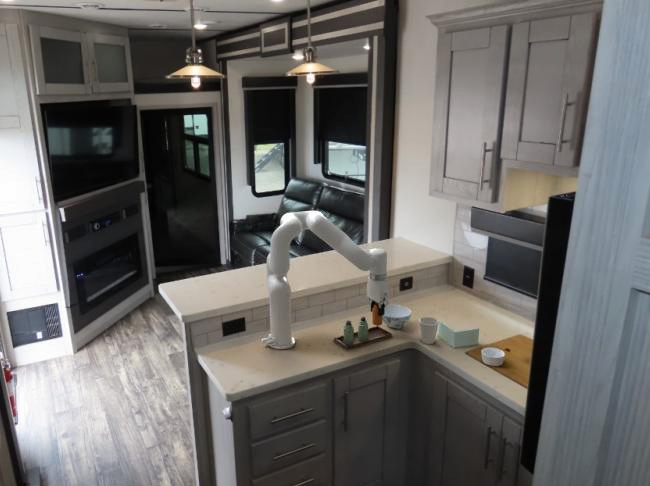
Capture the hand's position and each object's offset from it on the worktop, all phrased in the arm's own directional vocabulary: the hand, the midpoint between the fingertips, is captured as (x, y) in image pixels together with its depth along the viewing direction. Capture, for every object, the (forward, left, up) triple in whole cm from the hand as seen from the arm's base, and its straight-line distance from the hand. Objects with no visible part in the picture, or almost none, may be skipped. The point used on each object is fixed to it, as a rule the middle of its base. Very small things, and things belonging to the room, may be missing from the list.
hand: (377, 312), depth 234 cm
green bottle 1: (-16, 0, -11) cm, 19 cm away
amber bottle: (0, 0, -5) cm, 5 cm away
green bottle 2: (-8, 0, -11) cm, 14 cm away
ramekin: (+25, -43, -12) cm, 51 cm away
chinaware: (+14, +4, -12) cm, 19 cm away
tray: (-8, 0, -11) cm, 14 cm away
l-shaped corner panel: (+28, -22, -12) cm, 37 cm away
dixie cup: (+16, -16, -12) cm, 25 cm away
